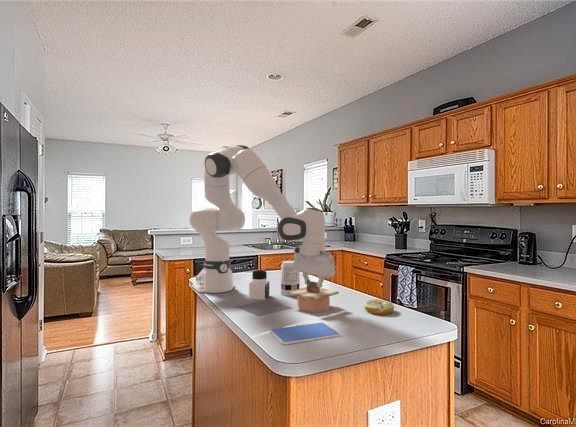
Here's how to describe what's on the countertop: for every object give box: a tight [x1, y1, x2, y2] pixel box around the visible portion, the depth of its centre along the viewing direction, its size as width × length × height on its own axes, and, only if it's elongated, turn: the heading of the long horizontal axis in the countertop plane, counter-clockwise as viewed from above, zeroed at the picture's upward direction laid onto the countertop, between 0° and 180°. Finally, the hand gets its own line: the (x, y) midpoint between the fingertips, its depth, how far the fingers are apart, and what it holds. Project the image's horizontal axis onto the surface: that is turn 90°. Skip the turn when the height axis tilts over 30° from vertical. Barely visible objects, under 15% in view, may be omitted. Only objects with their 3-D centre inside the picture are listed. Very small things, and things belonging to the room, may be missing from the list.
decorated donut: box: [363, 298, 395, 316], centre depth 132 cm, size 10×11×4 cm
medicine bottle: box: [248, 269, 270, 301], centre depth 151 cm, size 7×7×12 cm
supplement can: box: [280, 260, 301, 297], centre depth 157 cm, size 8×8×15 cm
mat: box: [234, 299, 293, 317], centre depth 135 cm, size 16×16×1 cm
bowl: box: [296, 296, 331, 313], centre depth 135 cm, size 12×12×6 cm
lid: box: [288, 280, 340, 300], centre depth 135 cm, size 14×14×4 cm
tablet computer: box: [269, 322, 342, 346], centre depth 108 cm, size 19×13×1 cm, turn 113°
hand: (313, 285), depth 135 cm, fingers open, 5 cm apart
